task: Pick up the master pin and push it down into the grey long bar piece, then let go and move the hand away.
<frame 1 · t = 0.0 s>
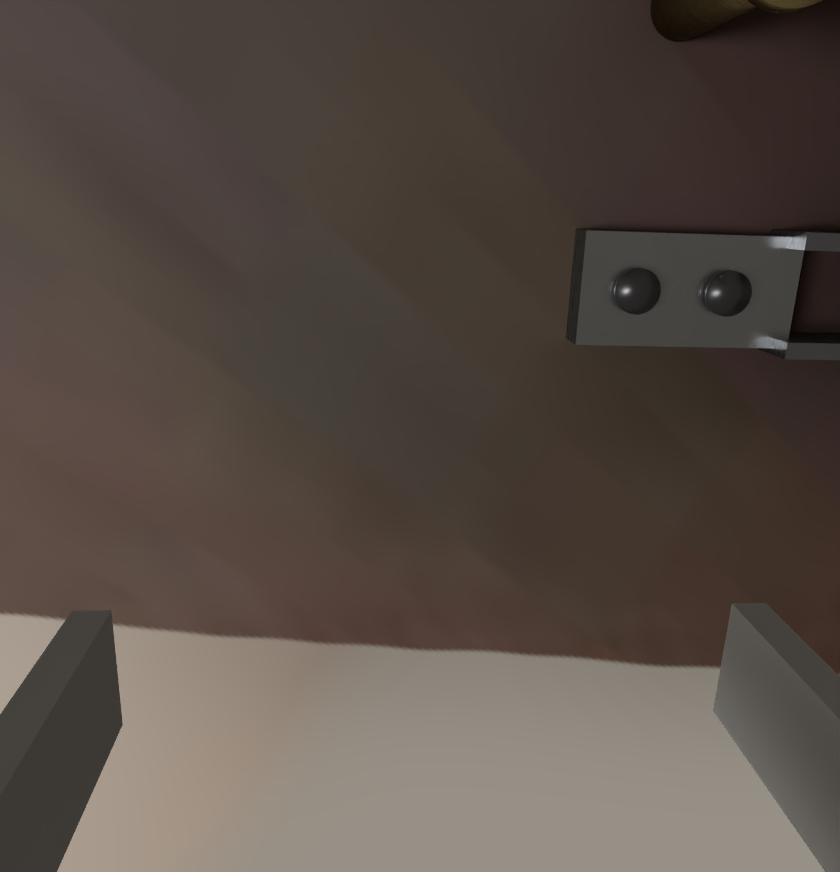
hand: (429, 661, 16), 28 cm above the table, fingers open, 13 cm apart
master pin: (681, 6, 38), on the table
grey long bar piece: (817, 291, 43), on the table
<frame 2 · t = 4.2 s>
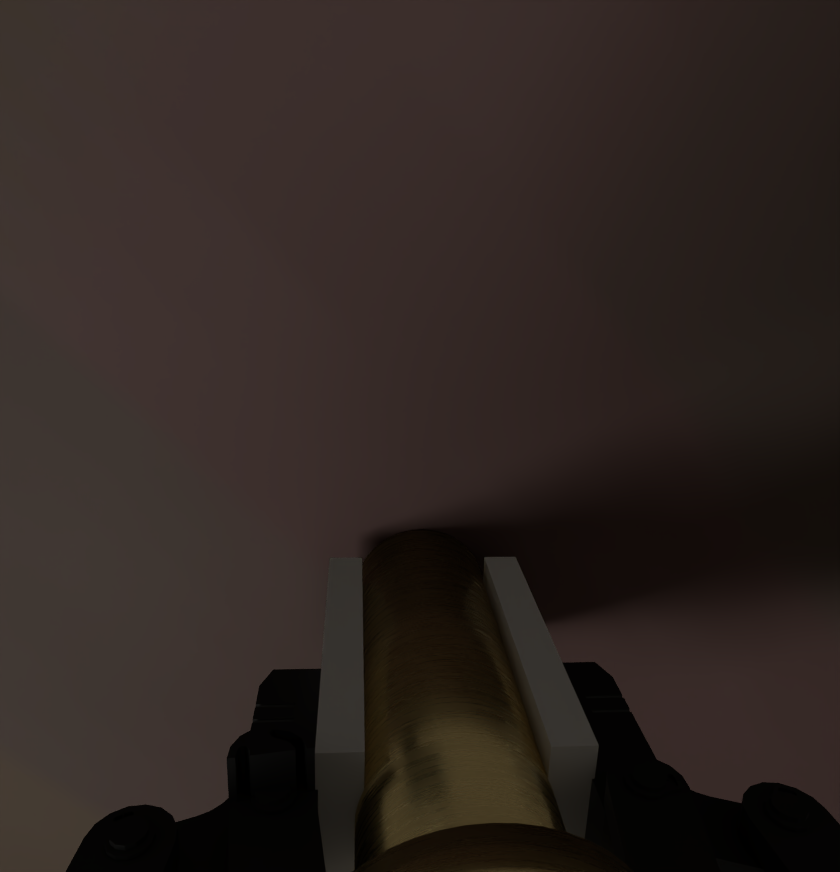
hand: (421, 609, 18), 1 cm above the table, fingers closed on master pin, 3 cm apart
master pin: (419, 587, 19), on the table, touching gripper
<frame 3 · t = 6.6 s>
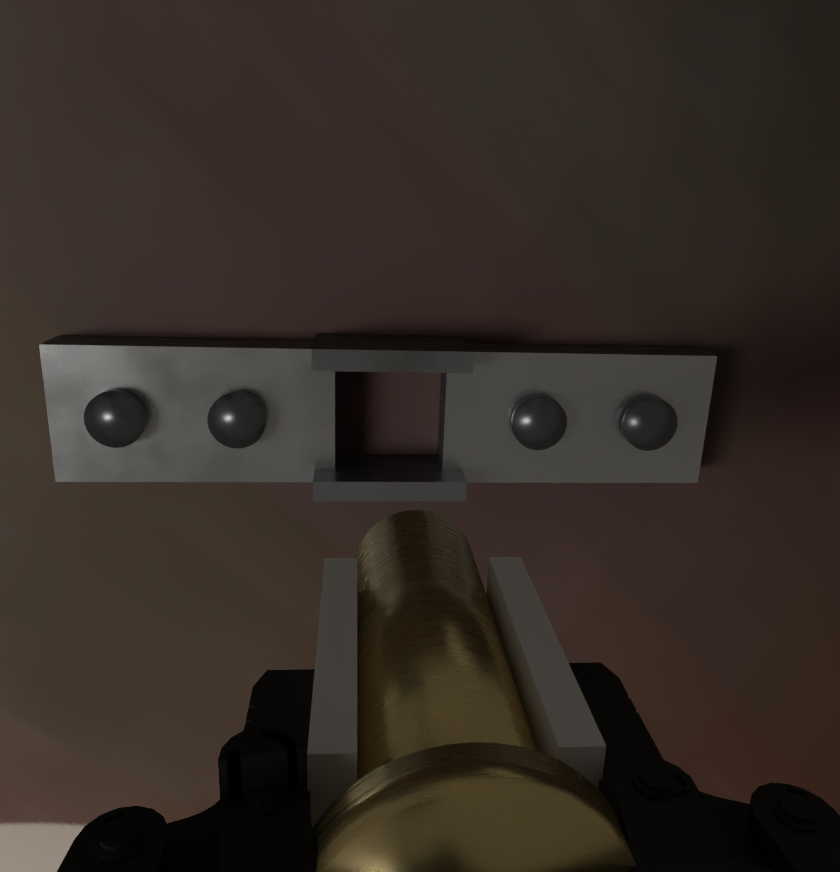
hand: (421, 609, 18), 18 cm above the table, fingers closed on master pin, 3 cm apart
master pin: (414, 564, 20), point 15 cm above the table, touching gripper
grey long bar piece: (388, 406, 35), on the table
when the fingers open (3 cm above the table, at t = 9.4 s): master pin stays where it is, resting in grey long bar piece.
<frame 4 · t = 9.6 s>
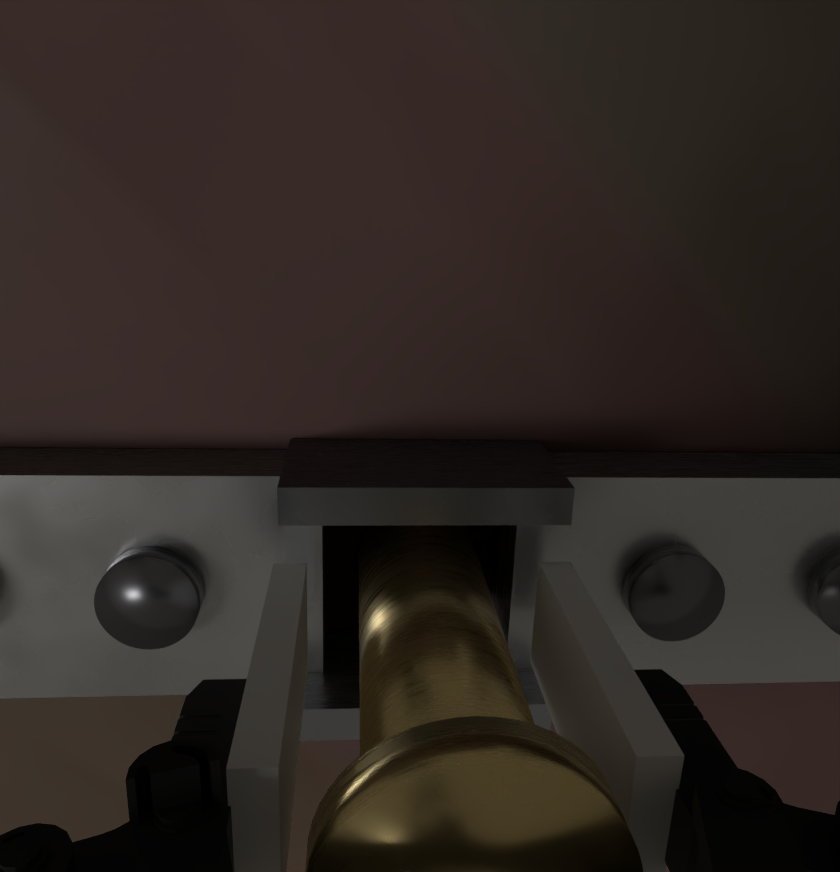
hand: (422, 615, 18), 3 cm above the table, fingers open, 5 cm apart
master pin: (416, 554, 21), resting in grey long bar piece
grey long bar piece: (412, 553, 21), on the table
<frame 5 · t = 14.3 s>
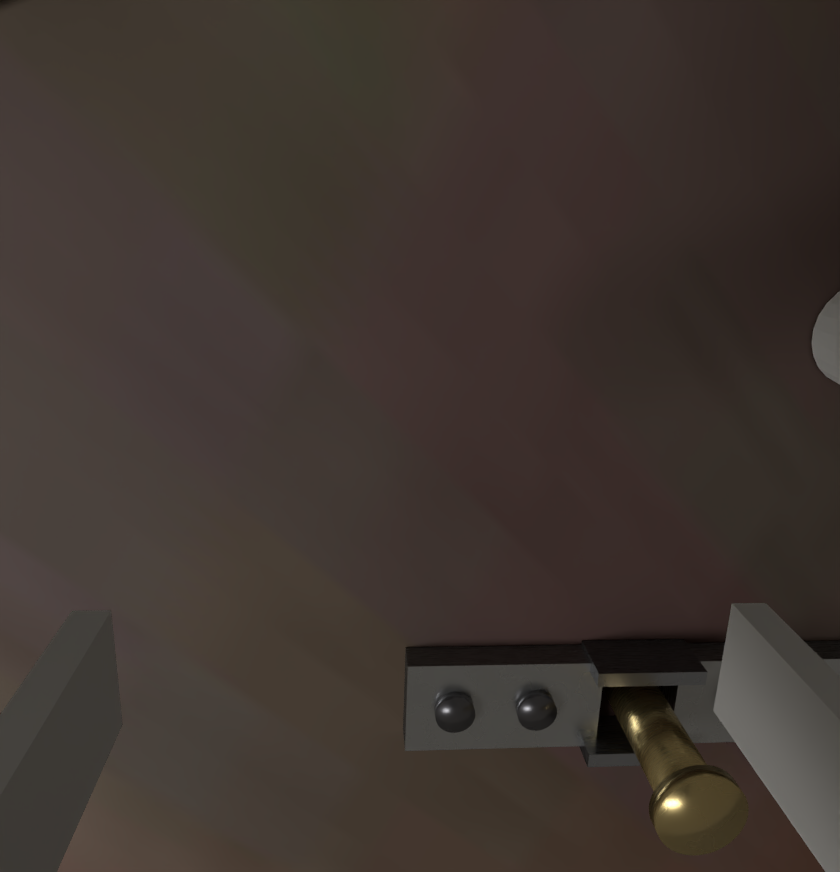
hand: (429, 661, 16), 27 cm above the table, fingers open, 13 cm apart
master pin: (628, 685, 49), resting in grey long bar piece
grey long bar piece: (626, 684, 49), on the table
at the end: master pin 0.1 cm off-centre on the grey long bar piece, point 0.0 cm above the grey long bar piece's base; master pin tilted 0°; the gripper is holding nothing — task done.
